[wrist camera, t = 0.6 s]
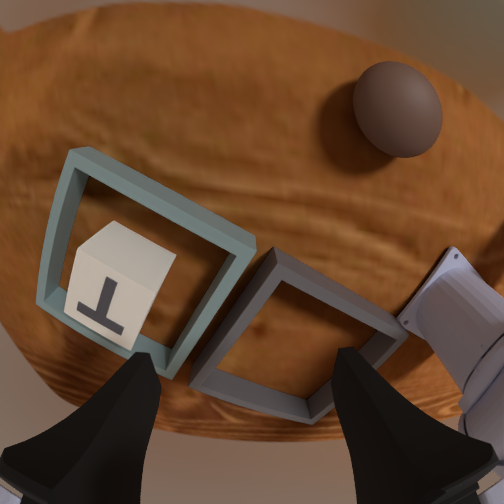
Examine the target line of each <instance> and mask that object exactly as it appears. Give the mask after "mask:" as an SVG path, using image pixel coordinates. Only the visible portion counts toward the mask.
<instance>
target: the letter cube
mask: <svg viewBox="0 0 504 504" xmlns="http://www.w3.org/2000/svg"><path fill="white" fill-rule="evenodd" d="M175 257H176V255H175V254H174V253H172V252H170V251H168V250H166V249H164V248H162V247H161V246H159V245H157V244H155V243H153V242H151V241H150V240H148V239H146V238H144V237H142V236H141V235H139V234H137V233H135V232H133V231H132V230H130V229H128V228H126V227H124V226H123V225H121V224H119V223H117V222H116V221H112V222H111V223H110V224H108V225H107V226H106V227H104V228H103V229H102V230H100V231H99V232H98V233H96V234H95V235H94V236H92V237H91V238H90V239H89V240H87V241H86V242H85V243H83V244H82V245H81V246H80V247H78V249H77V252H76V256H75V260H74V264H73V269H72V273H71V277H70V282H69V287H68V292H67V297H66V302H65V308H64V313H66V314H67V315H69V316H70V317H72V318H74V319H75V320H77V321H78V322H80V323H82V324H83V325H85V326H87V327H88V328H90V329H92V330H93V331H95V332H97V333H99V334H100V335H102V336H104V337H106V338H108V339H109V340H111V341H113V342H115V343H117V344H119V345H120V346H122V347H124V348H126V349H128V350H130V351H131V349H132V347H133V345H134V342H135V340H136V338H137V336H138V334H139V332H140V329H141V327H142V325H143V323H144V321H145V319H146V317H147V315H148V313H149V310H150V308H151V306H152V304H153V302H154V300H155V298H156V296H157V294H158V291H159V289H160V287H161V285H162V283H163V281H164V279H165V277H166V275H167V273H168V271H169V269H170V267H171V265H172V263H173V261H174V259H175Z"/></svg>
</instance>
